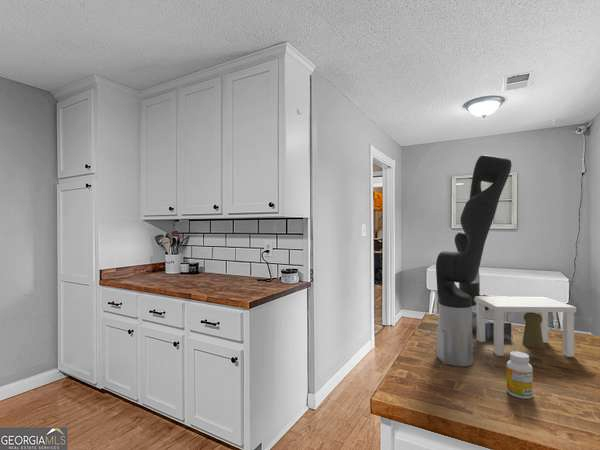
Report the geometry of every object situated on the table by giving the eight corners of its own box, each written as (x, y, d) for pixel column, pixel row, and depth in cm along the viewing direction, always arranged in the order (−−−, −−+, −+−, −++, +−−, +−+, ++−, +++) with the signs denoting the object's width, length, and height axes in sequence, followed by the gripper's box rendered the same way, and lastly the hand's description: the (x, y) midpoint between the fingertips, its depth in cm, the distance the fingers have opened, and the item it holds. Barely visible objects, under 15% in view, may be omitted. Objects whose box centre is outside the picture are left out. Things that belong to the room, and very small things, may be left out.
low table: (496, 356, 104) (496, 306, 104) (475, 339, 119) (475, 296, 119) (576, 357, 103) (576, 307, 103) (545, 340, 117) (544, 296, 117)
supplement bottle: (508, 385, 86) (508, 348, 86) (533, 392, 82) (533, 353, 82) (505, 394, 82) (504, 355, 81) (531, 401, 78) (531, 360, 78)
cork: (547, 349, 110) (547, 315, 110) (527, 347, 111) (527, 315, 111) (538, 342, 116) (538, 311, 115) (519, 341, 117) (519, 310, 117)
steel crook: (486, 339, 119) (486, 323, 119) (460, 322, 139) (460, 308, 139) (511, 339, 119) (511, 323, 118) (482, 322, 139) (482, 308, 139)
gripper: (454, 282, 133) (455, 322, 133) (491, 282, 131) (492, 323, 132) (447, 279, 140) (448, 317, 140) (482, 279, 139) (483, 317, 139)
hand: (469, 320), depth 136 cm, fingers open, 8 cm apart
